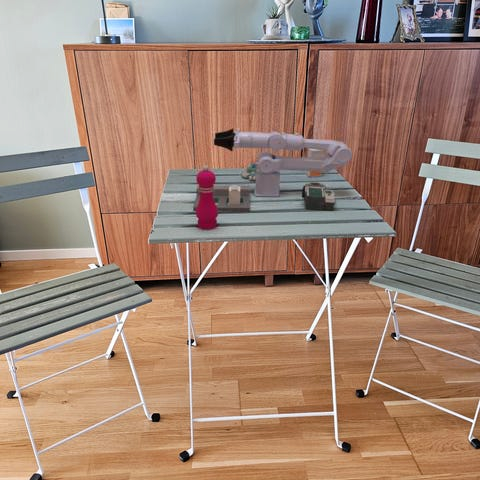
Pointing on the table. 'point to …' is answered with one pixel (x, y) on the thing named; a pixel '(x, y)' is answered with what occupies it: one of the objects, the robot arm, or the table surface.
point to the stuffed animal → (250, 171)
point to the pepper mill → (206, 200)
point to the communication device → (317, 196)
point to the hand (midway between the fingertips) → (214, 138)
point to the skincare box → (314, 154)
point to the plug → (234, 195)
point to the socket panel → (223, 197)
